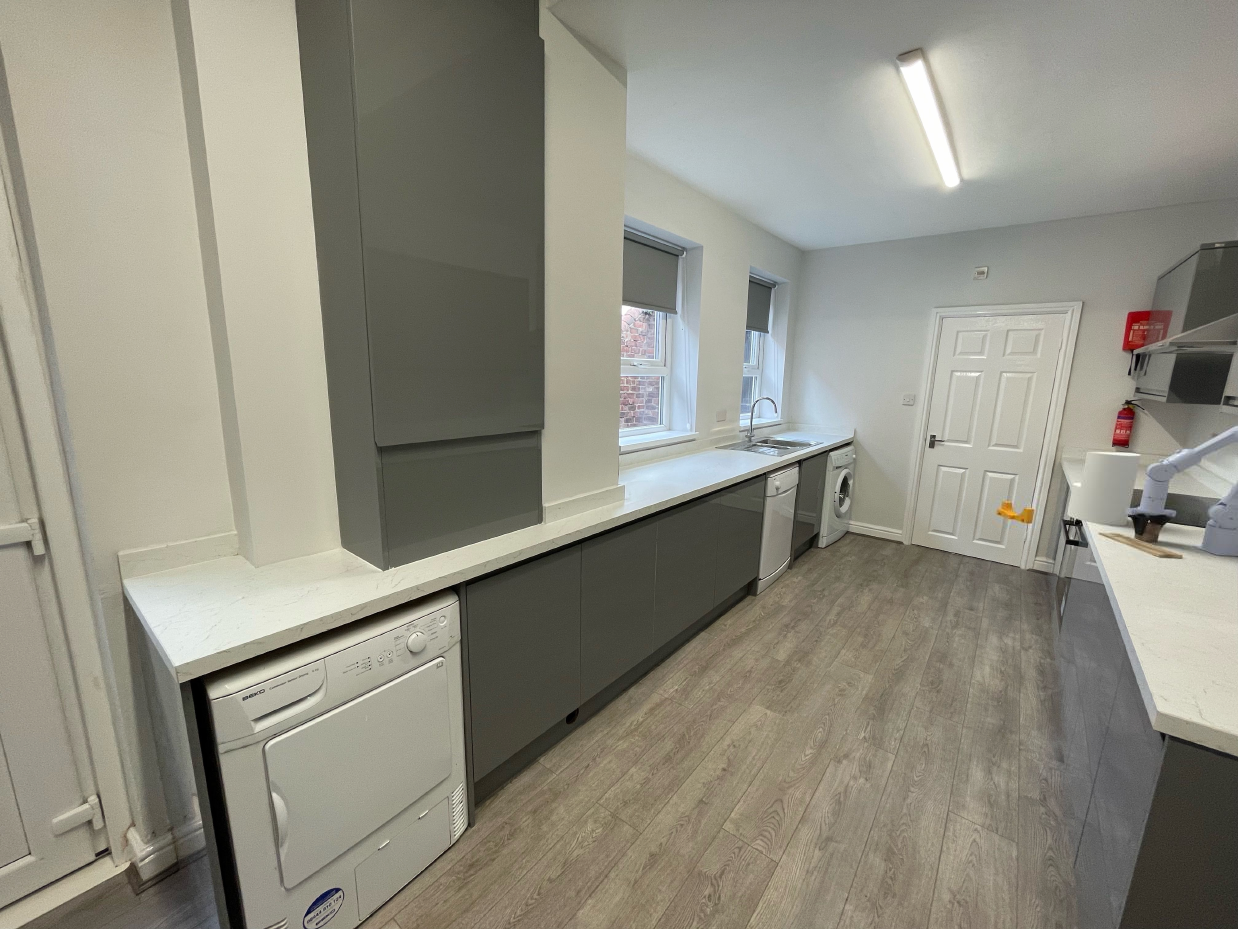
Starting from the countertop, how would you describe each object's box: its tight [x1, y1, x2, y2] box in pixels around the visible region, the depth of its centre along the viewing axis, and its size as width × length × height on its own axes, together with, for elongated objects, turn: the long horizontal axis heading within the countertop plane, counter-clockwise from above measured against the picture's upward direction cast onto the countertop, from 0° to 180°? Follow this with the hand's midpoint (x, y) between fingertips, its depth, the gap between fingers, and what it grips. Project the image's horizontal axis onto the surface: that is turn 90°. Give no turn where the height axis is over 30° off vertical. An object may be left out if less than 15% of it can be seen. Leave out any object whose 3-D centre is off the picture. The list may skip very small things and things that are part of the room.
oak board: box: [1098, 532, 1184, 559], centre depth 167 cm, size 7×22×1 cm, turn 175°
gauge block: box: [1134, 521, 1162, 543], centre depth 172 cm, size 4×4×6 cm
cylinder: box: [1066, 451, 1142, 526], centre depth 195 cm, size 17×17×28 cm
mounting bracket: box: [995, 501, 1036, 524], centre depth 195 cm, size 12×4×6 cm, turn 4°
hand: (1145, 535), depth 173 cm, fingers closed on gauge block, 4 cm apart
